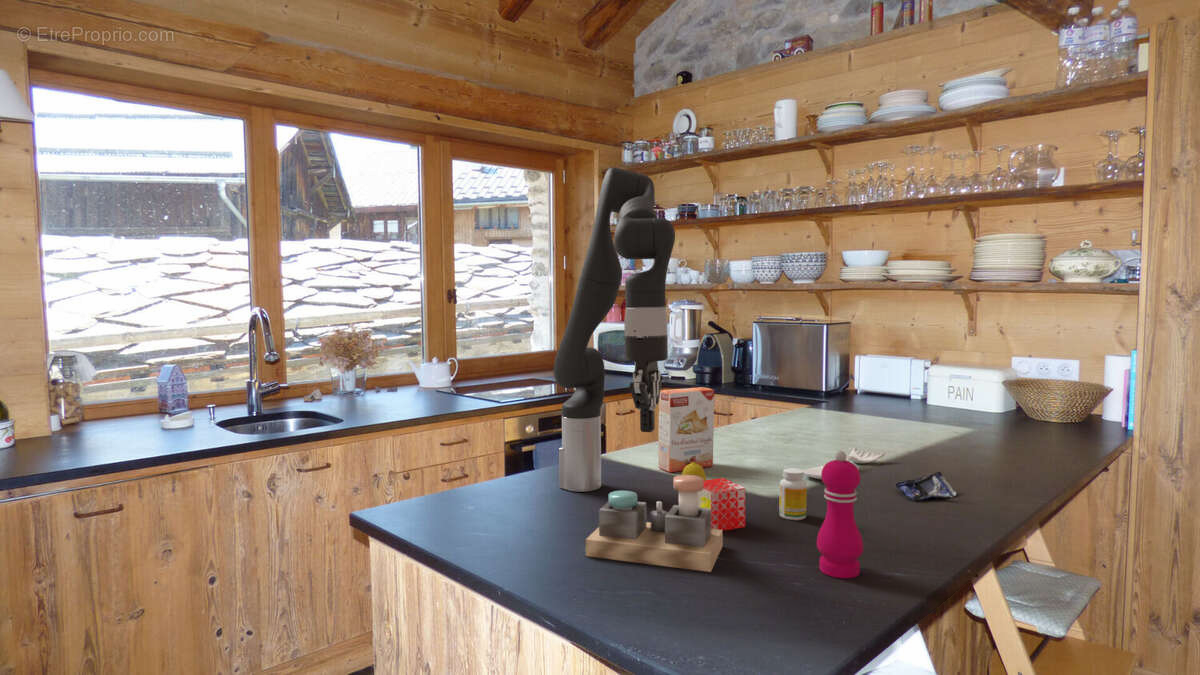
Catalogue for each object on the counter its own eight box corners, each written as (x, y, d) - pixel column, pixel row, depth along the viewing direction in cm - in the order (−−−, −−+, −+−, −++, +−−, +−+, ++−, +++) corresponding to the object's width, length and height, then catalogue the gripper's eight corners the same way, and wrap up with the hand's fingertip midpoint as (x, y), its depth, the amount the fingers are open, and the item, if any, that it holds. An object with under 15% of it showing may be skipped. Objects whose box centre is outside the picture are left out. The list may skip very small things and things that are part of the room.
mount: (585, 556, 119) (585, 513, 119) (607, 533, 130) (607, 494, 130) (710, 572, 112) (710, 526, 111) (722, 546, 123) (722, 505, 123)
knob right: (670, 519, 117) (670, 481, 117) (677, 510, 122) (677, 473, 121) (700, 522, 115) (700, 484, 115) (705, 512, 120) (706, 476, 120)
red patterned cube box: (689, 520, 137) (689, 482, 137) (722, 515, 141) (722, 477, 140) (711, 533, 130) (711, 492, 130) (745, 527, 133) (745, 487, 133)
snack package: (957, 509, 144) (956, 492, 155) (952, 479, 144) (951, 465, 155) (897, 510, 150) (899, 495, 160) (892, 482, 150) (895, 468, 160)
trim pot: (648, 531, 123) (648, 504, 122) (653, 525, 126) (653, 498, 125) (665, 533, 122) (665, 505, 121) (670, 527, 125) (669, 500, 124)
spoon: (886, 463, 183) (887, 450, 183) (828, 487, 161) (828, 472, 161) (854, 457, 189) (854, 445, 189) (794, 480, 167) (794, 466, 167)
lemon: (705, 501, 150) (705, 465, 149) (680, 500, 151) (680, 464, 150) (706, 494, 155) (706, 459, 155) (682, 492, 156) (682, 458, 156)
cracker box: (670, 473, 173) (670, 392, 172) (657, 468, 178) (657, 389, 177) (714, 467, 179) (715, 388, 178) (701, 462, 185) (701, 385, 183)
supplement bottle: (773, 514, 140) (774, 469, 140) (793, 510, 143) (794, 465, 142) (791, 522, 136) (792, 475, 135) (812, 518, 138) (812, 471, 137)
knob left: (604, 533, 121) (604, 497, 121) (614, 524, 126) (613, 489, 126) (632, 537, 119) (632, 500, 119) (640, 527, 124) (640, 492, 124)
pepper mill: (809, 563, 115) (810, 446, 114) (850, 561, 116) (852, 445, 114) (827, 581, 108) (828, 457, 107) (871, 579, 108) (873, 455, 107)
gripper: (636, 331, 126) (638, 424, 127) (613, 335, 114) (615, 437, 115) (675, 331, 124) (677, 425, 124) (656, 335, 111) (658, 439, 112)
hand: (647, 431), depth 120 cm, fingers closed
